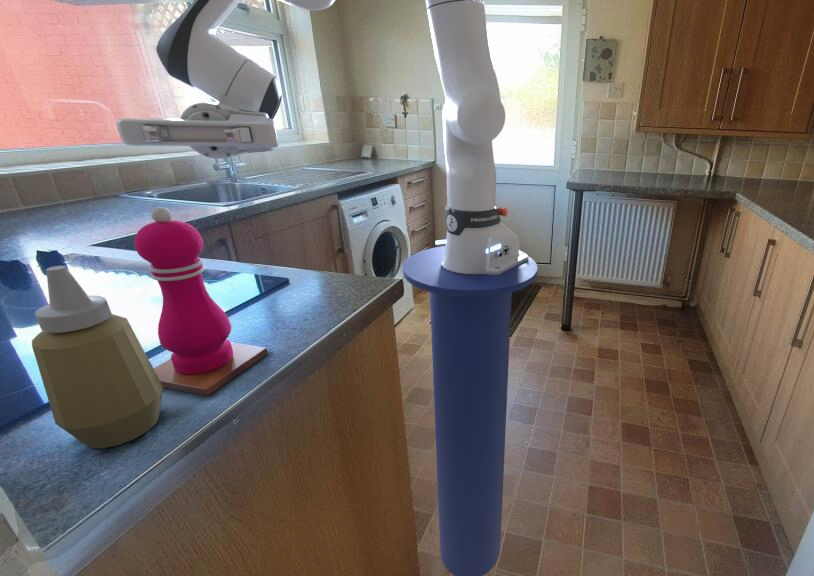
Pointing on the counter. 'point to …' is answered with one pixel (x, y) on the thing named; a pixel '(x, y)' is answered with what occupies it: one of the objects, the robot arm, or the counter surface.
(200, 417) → the counter surface
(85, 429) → the squeeze bottle
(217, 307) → the pepper mill
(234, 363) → the walnut cutting board
